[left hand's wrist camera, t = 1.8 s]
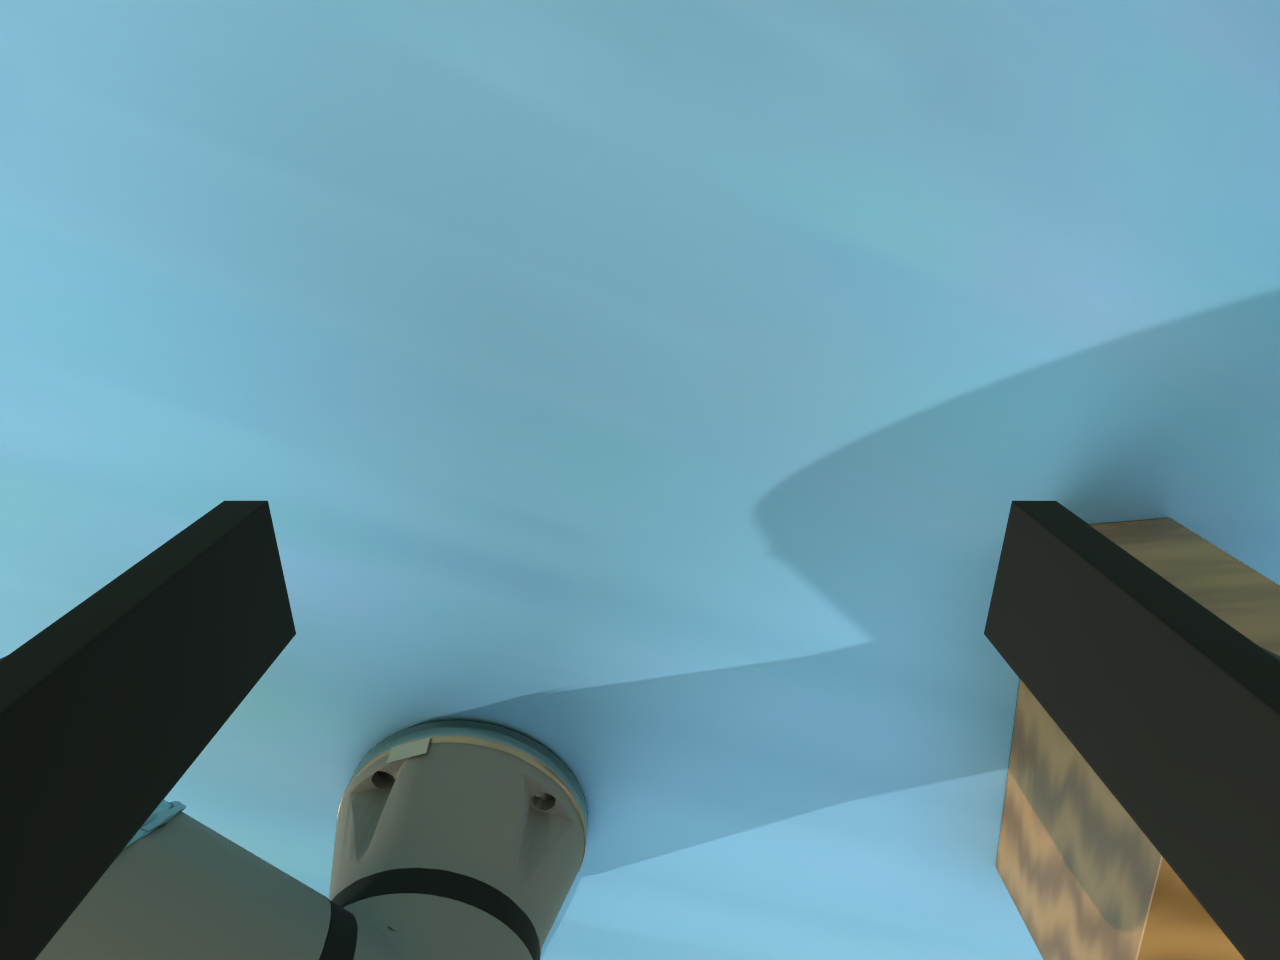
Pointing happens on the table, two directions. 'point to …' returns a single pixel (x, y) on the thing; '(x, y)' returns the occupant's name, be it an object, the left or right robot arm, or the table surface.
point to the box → (1089, 813)
